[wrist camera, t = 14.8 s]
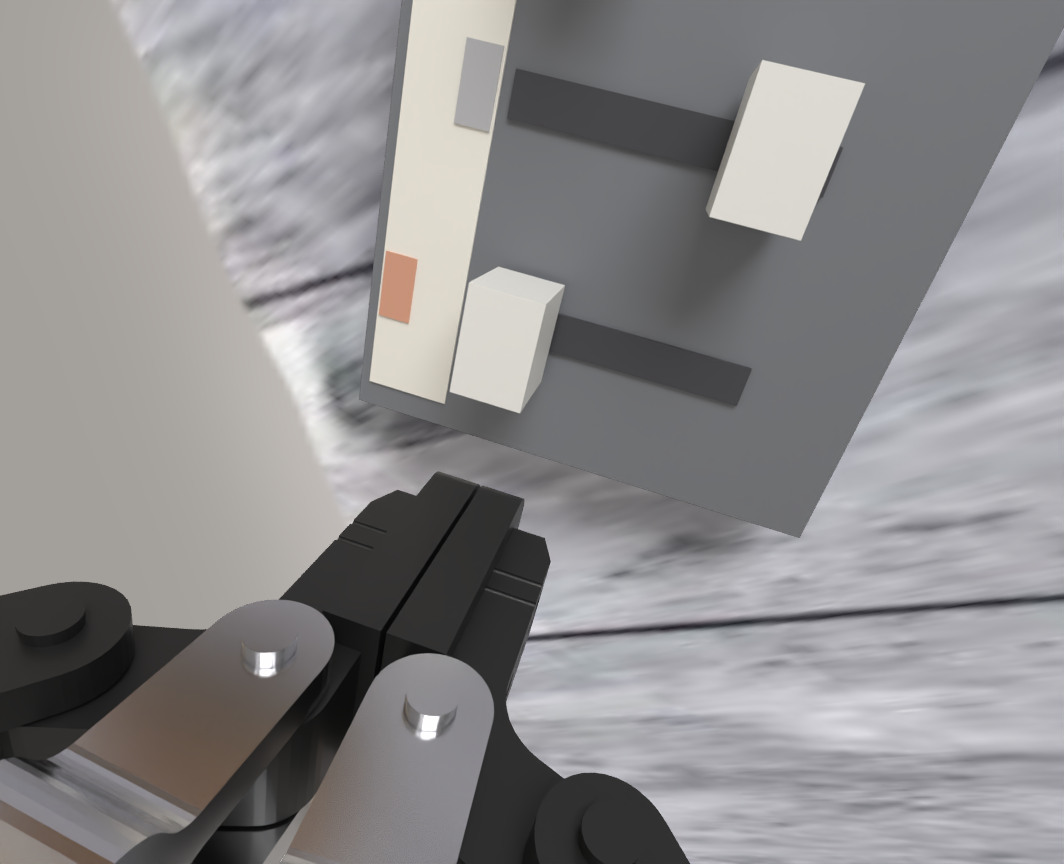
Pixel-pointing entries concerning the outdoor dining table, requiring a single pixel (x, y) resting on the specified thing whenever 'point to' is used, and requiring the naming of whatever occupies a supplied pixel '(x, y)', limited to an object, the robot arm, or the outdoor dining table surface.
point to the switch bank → (680, 223)
